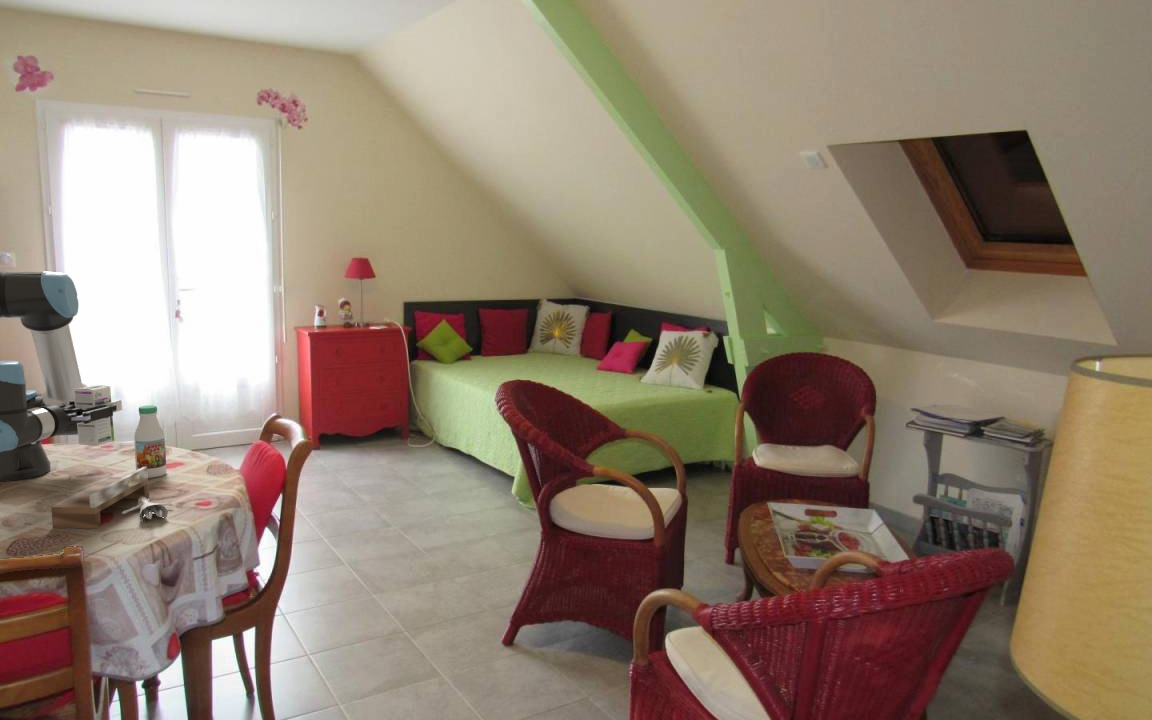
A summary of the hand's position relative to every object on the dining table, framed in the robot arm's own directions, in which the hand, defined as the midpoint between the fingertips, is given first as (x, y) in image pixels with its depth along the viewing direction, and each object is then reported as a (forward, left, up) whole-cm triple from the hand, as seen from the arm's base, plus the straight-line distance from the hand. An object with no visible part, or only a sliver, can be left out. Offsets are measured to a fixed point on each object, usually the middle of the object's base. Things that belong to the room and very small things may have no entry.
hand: (107, 404), depth 209 cm
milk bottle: (-18, +1, -24) cm, 30 cm away
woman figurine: (+15, +17, -25) cm, 34 cm away
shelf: (+13, +5, -24) cm, 28 cm away
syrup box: (+5, -1, -9) cm, 11 cm away
